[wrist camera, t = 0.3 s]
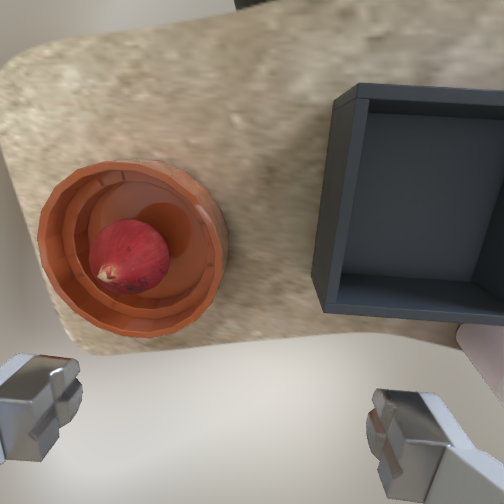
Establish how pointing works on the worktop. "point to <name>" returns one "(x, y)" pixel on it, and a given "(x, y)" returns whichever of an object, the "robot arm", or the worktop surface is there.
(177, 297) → the bowl
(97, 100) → the worktop surface
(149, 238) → the pomegranate
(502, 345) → the smoothie
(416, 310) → the bin
